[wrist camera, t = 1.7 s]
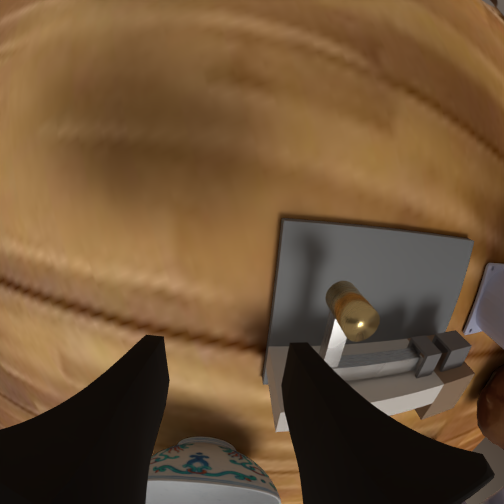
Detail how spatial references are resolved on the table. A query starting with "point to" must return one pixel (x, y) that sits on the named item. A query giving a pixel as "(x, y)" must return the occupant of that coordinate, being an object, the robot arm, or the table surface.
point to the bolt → (358, 337)
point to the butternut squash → (492, 408)
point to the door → (382, 300)
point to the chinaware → (207, 475)
